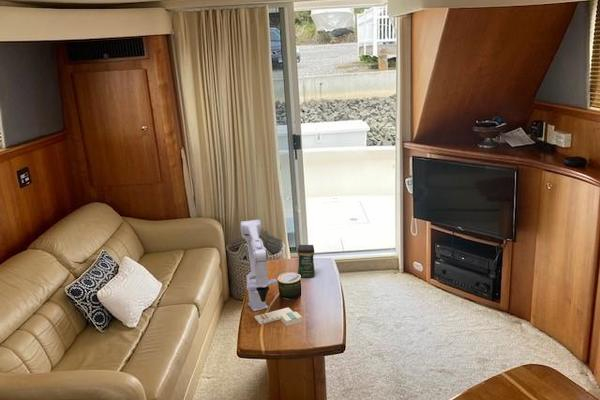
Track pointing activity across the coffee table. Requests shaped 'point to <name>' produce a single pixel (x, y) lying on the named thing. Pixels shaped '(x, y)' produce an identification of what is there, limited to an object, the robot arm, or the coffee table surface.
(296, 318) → the white and teal box
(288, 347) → the coffee table surface
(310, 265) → the coffee jar
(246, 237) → the robot arm
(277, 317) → the board
